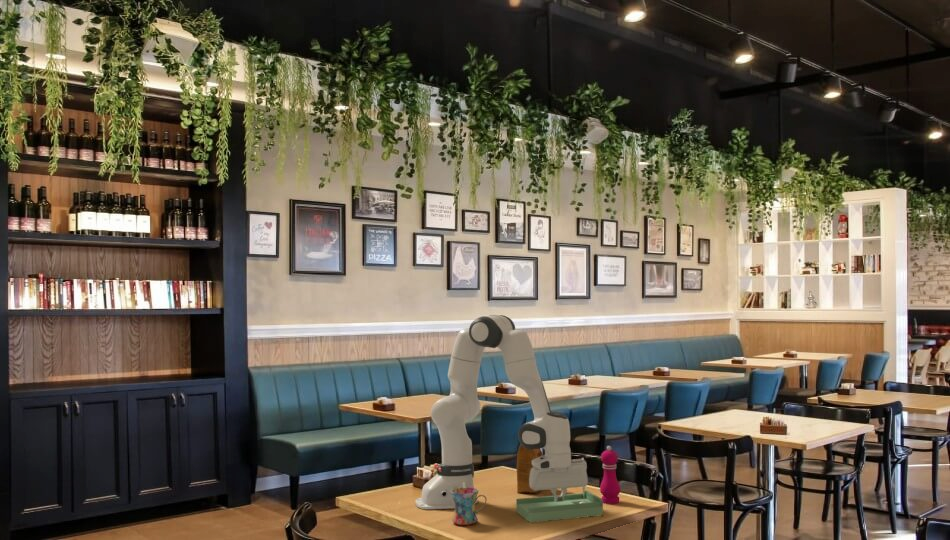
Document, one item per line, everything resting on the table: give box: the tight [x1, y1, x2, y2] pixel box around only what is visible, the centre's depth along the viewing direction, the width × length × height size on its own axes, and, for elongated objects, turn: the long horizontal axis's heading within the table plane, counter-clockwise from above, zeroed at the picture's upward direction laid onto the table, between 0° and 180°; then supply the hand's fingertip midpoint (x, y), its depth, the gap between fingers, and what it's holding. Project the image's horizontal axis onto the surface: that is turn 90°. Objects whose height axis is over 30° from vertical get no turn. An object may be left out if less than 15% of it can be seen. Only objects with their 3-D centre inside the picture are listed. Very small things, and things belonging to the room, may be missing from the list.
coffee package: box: [516, 444, 544, 494], centre depth 313 cm, size 10×12×22 cm
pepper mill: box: [599, 445, 621, 505], centre depth 293 cm, size 7×7×20 cm
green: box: [516, 457, 604, 523], centre depth 278 cm, size 26×14×17 cm, turn 105°
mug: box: [450, 487, 487, 526], centre depth 269 cm, size 12×9×11 cm
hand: (559, 501), depth 278 cm, fingers closed
